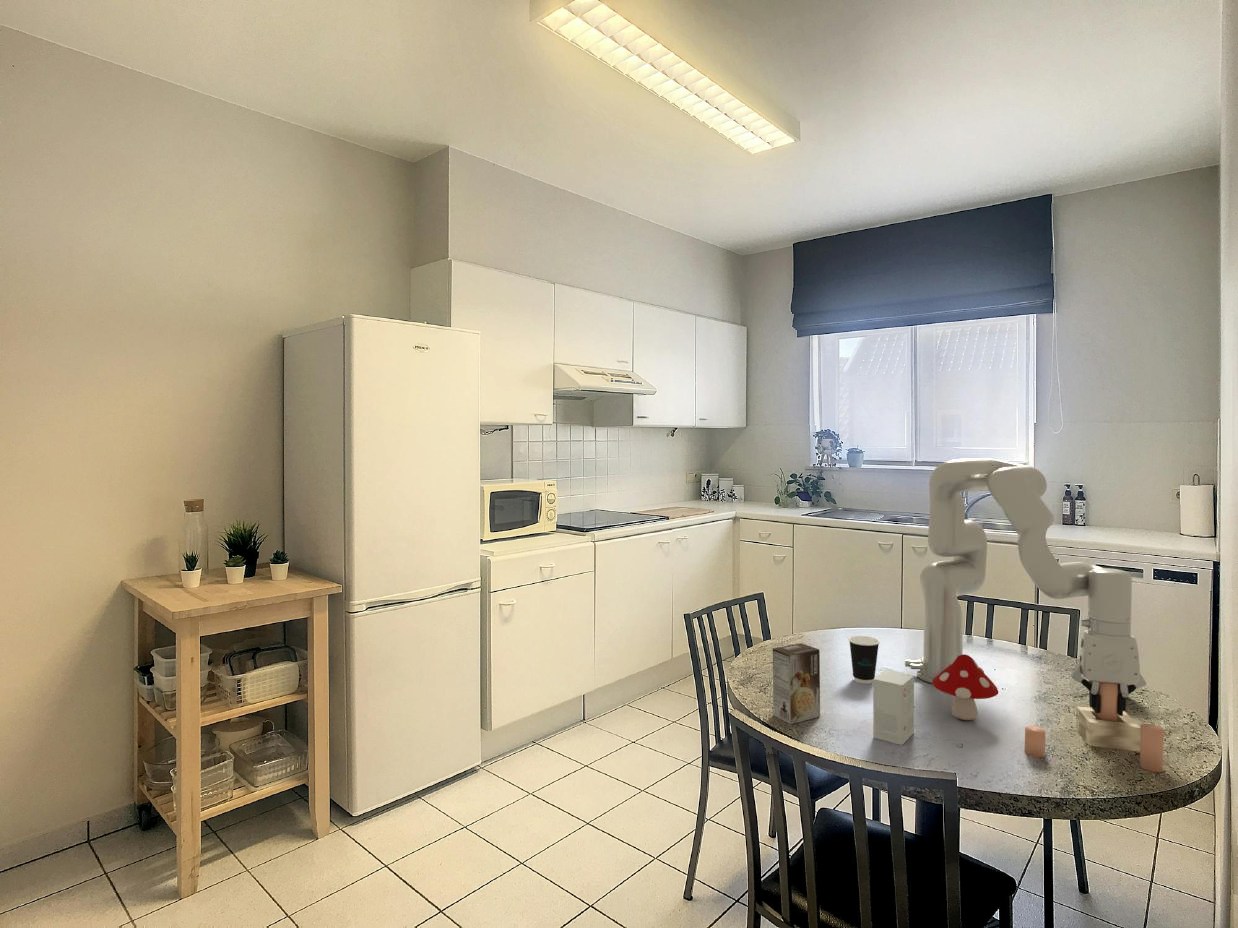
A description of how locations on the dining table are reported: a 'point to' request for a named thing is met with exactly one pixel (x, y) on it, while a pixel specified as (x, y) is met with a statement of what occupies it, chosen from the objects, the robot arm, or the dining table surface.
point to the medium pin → (1151, 747)
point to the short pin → (1035, 741)
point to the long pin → (1108, 701)
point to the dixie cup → (864, 658)
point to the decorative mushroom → (965, 686)
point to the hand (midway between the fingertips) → (1107, 711)
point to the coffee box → (796, 683)
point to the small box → (893, 706)
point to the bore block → (1108, 730)
